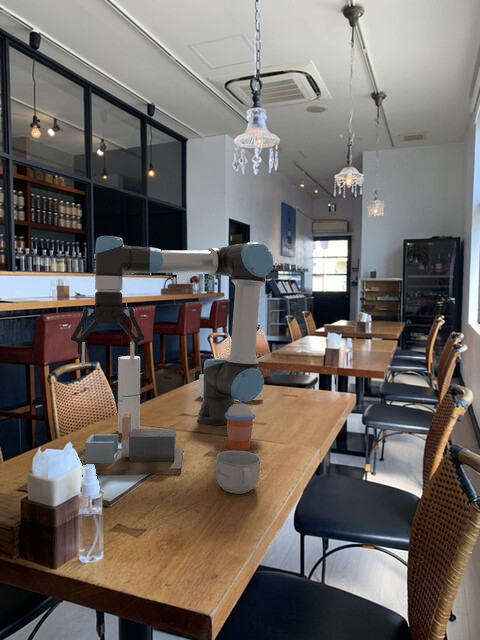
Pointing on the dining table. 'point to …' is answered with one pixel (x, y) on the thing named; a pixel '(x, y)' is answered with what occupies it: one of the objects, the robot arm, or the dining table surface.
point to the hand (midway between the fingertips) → (108, 365)
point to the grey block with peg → (125, 434)
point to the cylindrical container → (129, 391)
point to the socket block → (101, 448)
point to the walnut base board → (137, 466)
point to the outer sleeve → (152, 445)
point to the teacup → (237, 471)
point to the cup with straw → (239, 425)
